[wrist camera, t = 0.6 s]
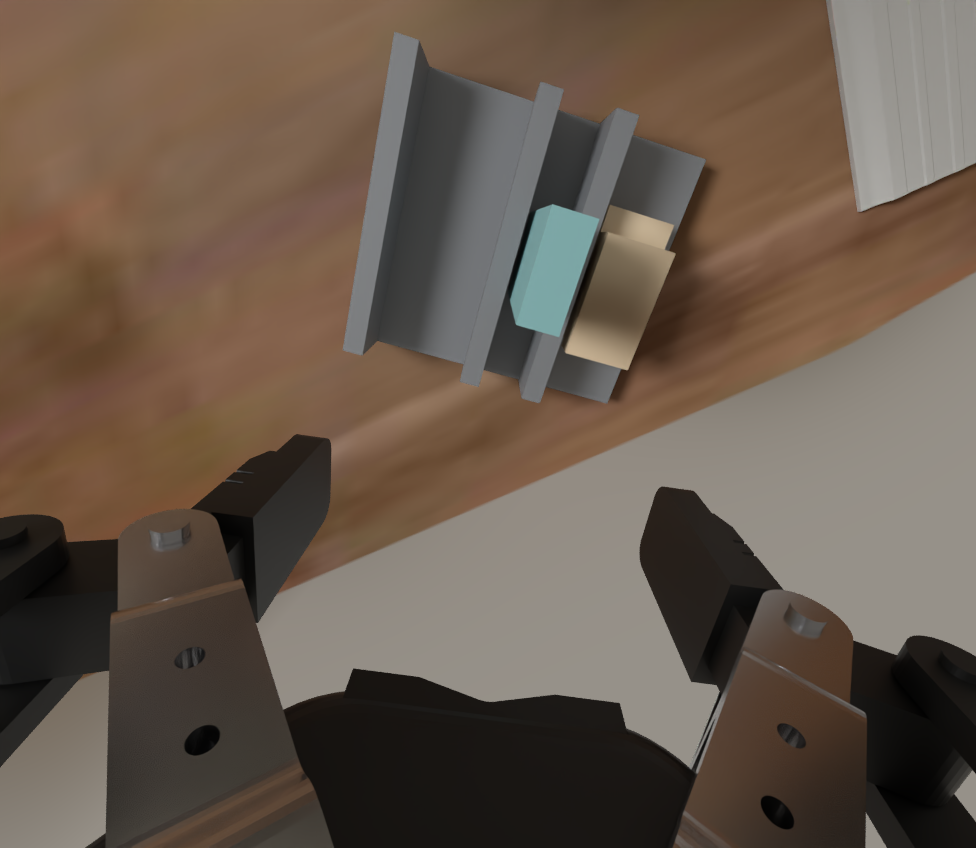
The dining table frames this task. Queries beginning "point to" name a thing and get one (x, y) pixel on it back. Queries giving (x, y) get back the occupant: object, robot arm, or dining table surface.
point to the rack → (490, 218)
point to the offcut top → (616, 300)
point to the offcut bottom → (632, 231)
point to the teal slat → (550, 267)
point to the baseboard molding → (905, 91)
